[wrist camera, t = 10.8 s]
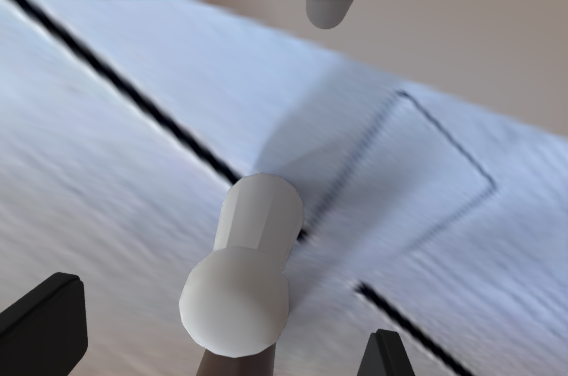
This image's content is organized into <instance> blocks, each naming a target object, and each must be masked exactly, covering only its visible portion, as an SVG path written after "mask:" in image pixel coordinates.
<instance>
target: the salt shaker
mask: <svg viewBox="0 0 568 376" xmlns="http://www.w3.org/2000/svg"><path fill="white" fill-rule="evenodd" d="M303 223H304V204H303V202H302V200H301V198H300V196H299V194H298V193H297V191H296V189H295V187H294V186H293V185H291V184H290V183H288V182H287V181H286V180H284V179H283V178H282V177H280V176H276V175H271V174H266V173H259V174H255V175H250V176H246V177H243V178H242V179H241V180H239V181H238V182H237V183H236V184H235V185H234V186H233V187H231V188H230V189H229V191H228V193H227V195H226V198H225V200H224V202H223V205H222V209H221V214H220V219H219V224H218V229H217V234H216V239H215V244H214V249H213V252H212V253H210V254H209V255H208V256H207V257H206V258H204V259H203V260H202V261H201V262H199V263H198V264H197V265H196V266H195V268H194V269H193V270H192V271H191V273H190V275H189V277H188V280H187V282H186V284H185V287H184V289H183V292H182V295H181V298H180V301H179V308H180V314H181V319H182V324H183V325H184V327H185V328H186V329H187V331H188V332H189V333H190V335H191V336H192V338H193V339H194V340H195V341H196V342H197V343H198V344H199V345H201V346H203V347H204V348H206V349H208V350H209V351H211V352H213V353H215V354H218V355H223V356H228V357H233V358H236V357H242V356H248V355H253V354H257V353H260V352H261V351H263V350H264V349H266V348H268V347H269V346H271V345H272V344H274V343H275V342H276V341H277V340H278V338H279V336H280V334H281V332H282V330H283V328H284V326H285V324H286V321H287V318H288V315H289V285H288V281H287V279H286V277H285V275H284V274H283V269H284V267H285V264H286V262H287V259H288V257H289V254H290V252H291V249H292V247H293V245H294V243H295V240H296V238H297V236H298V234H299V232H300V229H301V227H302V225H303Z"/></svg>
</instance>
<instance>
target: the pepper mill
mask: <svg viewBox="0 0 568 376" xmlns="http://www.w3.org/2000/svg"><path fill="white" fill-rule="evenodd" d="M275 349H276V342H275V343H274V344H272V345H271V346H269V347H268V348H266V349H264V350H263V351H261V352H260V353H257V354H253V355H248V356H242V357H236V358H233V357H228V356H223V355H218V354H215V353H213V352H211V351H209V350H208V349H206V350H205V353H204V356H203V358H202V361H201V364H200V366H199V369H198V371H197V374H196V376H273V368H274V358H275Z"/></svg>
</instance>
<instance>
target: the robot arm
mask: <svg viewBox="0 0 568 376" xmlns="http://www.w3.org/2000/svg"><path fill="white" fill-rule="evenodd" d="M87 347H88V337H87V323H86V310H85V296H84V284H83V282H82V281H80V278H79V276H77V275H73V274H67V273H61V272H57V273H55V274H53V275H52V276H50V277H49V278H47V279H46V280H45V281H43V282H42V283H41V284H39V285H38V286H37V287H35V288H34V289H33V290H31V291H30V292H29V293H27V294H26V295H24V296H23V297H22V298H20V299H19V300H18V301H16V302H15V303H14V304H12V305H11V306H10V307H8V308H7V309H5V310H4V311H3V312H1V313H0V376H67V375H68V374H69V373H70V372H71V371H72V369H73V368H74V367H75V366H76V365H77V363H78V362H79V361H80V360H81V358H82V357H83V356H84V354H85V352H86V350H87ZM357 376H415V374H414V371H413V369H412V366H411V364H410V361H409V359H408V356H407V353H406V351H405V348H404V346H403V343H402V341H401V338H400V336H399V334H398V333H397V332H394V331H389V330H383V329H378V330H377V332H376V333H371V335H370V338H369V341H368V344H367V347H366V350H365V353H364V356H363V359H362V362H361V365H360V368H359V371H358V374H357Z"/></svg>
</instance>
